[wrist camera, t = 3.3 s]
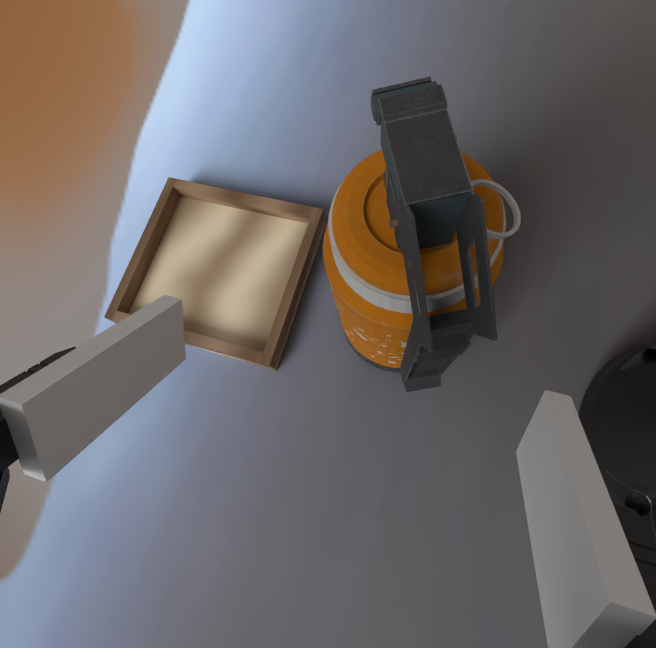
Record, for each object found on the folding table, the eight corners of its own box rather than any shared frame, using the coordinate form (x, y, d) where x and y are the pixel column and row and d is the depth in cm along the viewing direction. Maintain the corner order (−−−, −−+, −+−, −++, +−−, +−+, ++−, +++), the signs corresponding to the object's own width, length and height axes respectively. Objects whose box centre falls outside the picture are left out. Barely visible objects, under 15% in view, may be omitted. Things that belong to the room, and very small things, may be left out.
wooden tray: (326, 223, 36) (323, 209, 34) (276, 370, 33) (269, 365, 30) (180, 192, 39) (168, 177, 36) (121, 325, 35) (104, 317, 33)
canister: (440, 257, 34) (521, 12, 15) (477, 389, 30) (643, 294, 11) (334, 278, 34) (279, 70, 15) (358, 410, 31) (327, 354, 12)
